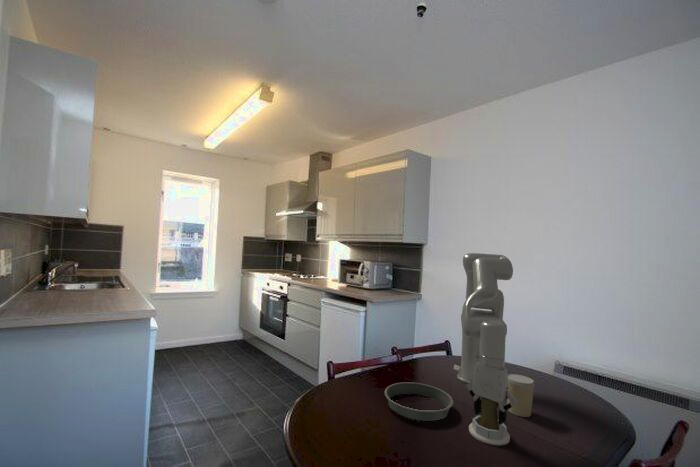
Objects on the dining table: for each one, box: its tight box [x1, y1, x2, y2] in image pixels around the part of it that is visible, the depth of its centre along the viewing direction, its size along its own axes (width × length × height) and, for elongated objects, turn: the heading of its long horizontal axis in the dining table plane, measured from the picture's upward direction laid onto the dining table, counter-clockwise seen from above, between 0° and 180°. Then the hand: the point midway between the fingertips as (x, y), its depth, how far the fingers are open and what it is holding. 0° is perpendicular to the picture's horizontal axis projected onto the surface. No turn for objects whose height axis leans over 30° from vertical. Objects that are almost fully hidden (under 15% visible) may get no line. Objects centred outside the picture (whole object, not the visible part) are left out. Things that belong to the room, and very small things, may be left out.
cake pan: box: [384, 381, 454, 421], centre depth 122 cm, size 25×25×4 cm
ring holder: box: [468, 414, 511, 447], centre depth 106 cm, size 12×12×4 cm
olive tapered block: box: [479, 397, 499, 430], centre depth 106 cm, size 6×6×11 cm
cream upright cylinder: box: [506, 373, 535, 418], centre depth 123 cm, size 9×9×12 cm
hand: (489, 417), depth 106 cm, fingers open, 7 cm apart
